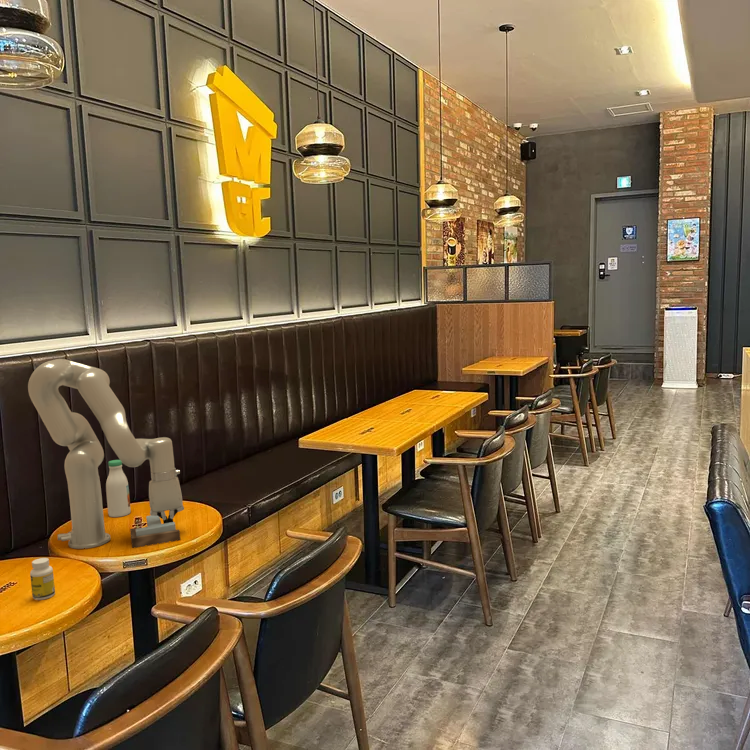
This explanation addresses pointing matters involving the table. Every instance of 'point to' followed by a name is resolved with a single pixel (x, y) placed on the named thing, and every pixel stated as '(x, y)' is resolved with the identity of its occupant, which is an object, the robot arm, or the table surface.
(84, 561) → the table surface
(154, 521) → the t block
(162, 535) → the corner fence
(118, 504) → the milk bottle
